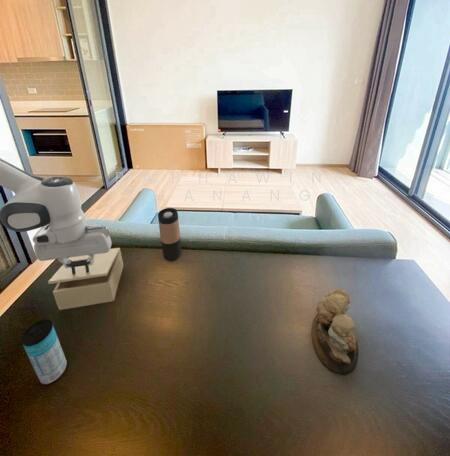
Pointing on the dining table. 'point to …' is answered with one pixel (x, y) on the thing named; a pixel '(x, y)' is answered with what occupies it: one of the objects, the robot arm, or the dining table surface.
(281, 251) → the dining table surface
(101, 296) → the bin
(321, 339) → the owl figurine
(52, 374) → the supplement bottle
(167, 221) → the travel mug
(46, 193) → the robot arm
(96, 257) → the bin lid
